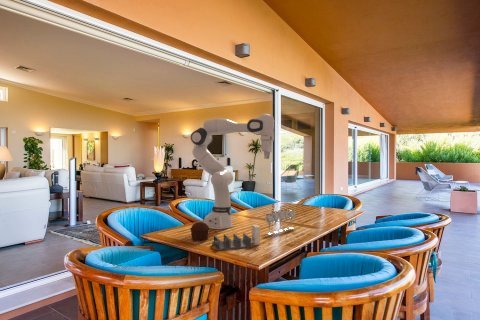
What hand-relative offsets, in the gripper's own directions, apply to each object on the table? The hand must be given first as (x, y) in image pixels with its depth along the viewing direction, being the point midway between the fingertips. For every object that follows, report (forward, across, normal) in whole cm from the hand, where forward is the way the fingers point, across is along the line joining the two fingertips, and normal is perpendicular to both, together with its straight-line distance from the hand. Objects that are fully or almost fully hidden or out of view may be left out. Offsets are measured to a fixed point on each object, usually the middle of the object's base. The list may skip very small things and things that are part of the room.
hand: (266, 158), depth 209 cm
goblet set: (+48, -2, +10) cm, 49 cm away
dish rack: (+49, +40, -12) cm, 64 cm away
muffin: (+49, +33, -34) cm, 68 cm away
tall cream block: (+48, +33, 0) cm, 59 cm away
